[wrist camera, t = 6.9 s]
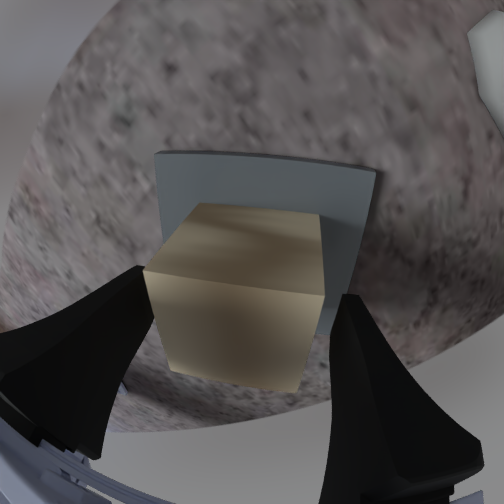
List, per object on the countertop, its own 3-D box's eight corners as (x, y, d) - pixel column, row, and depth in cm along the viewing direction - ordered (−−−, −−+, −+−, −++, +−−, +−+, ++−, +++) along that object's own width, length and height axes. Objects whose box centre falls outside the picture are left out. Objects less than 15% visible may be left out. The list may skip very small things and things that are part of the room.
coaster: (179, 305, 16) (175, 312, 16) (160, 150, 11) (154, 154, 11) (332, 327, 15) (332, 335, 15) (372, 168, 10) (376, 172, 10)
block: (205, 293, 14) (170, 370, 10) (199, 202, 12) (142, 270, 8) (302, 306, 14) (296, 393, 10) (318, 214, 11) (324, 296, 7)
